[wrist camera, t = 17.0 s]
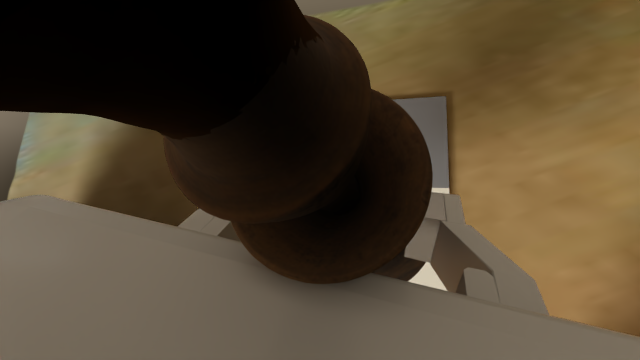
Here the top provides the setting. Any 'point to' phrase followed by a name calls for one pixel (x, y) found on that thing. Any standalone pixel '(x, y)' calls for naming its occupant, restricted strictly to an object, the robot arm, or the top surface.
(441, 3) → the top surface
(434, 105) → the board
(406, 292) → the robot arm
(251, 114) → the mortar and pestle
